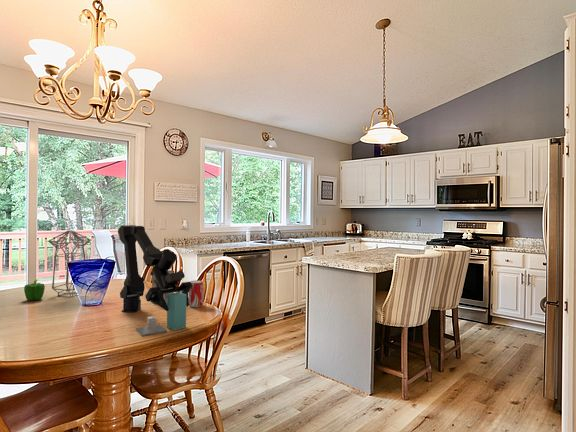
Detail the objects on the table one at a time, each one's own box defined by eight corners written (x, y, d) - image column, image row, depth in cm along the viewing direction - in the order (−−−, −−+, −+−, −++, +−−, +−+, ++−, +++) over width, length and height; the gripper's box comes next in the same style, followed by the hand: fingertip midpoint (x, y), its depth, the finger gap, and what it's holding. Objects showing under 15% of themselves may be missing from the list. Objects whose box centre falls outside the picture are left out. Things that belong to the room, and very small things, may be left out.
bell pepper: (36, 302, 173) (37, 281, 173) (20, 301, 174) (20, 281, 174) (48, 297, 182) (48, 278, 182) (32, 297, 182) (33, 278, 182)
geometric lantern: (92, 293, 195) (93, 229, 194) (70, 300, 179) (71, 231, 178) (67, 291, 197) (68, 228, 196) (43, 298, 182) (44, 230, 181)
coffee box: (174, 302, 178) (175, 270, 178) (165, 305, 172) (166, 272, 172) (160, 300, 182) (160, 269, 182) (151, 303, 176) (151, 270, 176)
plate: (135, 329, 136) (135, 328, 136) (159, 325, 141) (159, 324, 141) (141, 336, 129) (141, 334, 129) (166, 331, 134) (166, 330, 134)
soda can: (199, 308, 168) (199, 283, 168) (185, 307, 169) (186, 282, 169) (205, 304, 174) (206, 280, 174) (192, 303, 176) (193, 279, 176)
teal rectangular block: (166, 327, 139) (167, 294, 139) (178, 324, 143) (178, 292, 143) (174, 330, 136) (175, 296, 136) (185, 326, 140) (186, 294, 140)
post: (146, 328, 135) (147, 317, 135) (153, 327, 137) (154, 316, 137) (148, 330, 133) (148, 318, 133) (155, 329, 135) (156, 317, 135)
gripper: (149, 267, 135) (165, 300, 128) (190, 262, 150) (206, 292, 143) (138, 284, 140) (153, 317, 133) (179, 278, 155) (194, 308, 148)
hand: (178, 308), depth 139 cm, fingers open, 9 cm apart
